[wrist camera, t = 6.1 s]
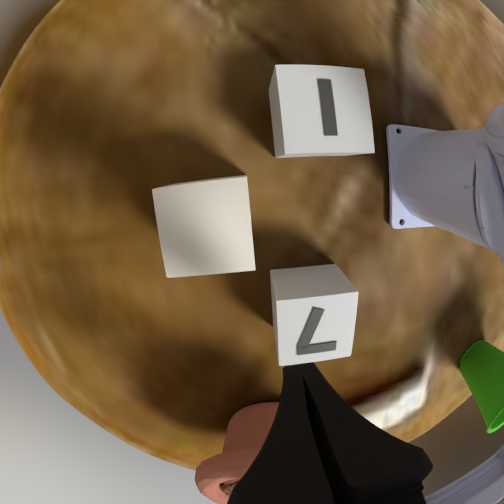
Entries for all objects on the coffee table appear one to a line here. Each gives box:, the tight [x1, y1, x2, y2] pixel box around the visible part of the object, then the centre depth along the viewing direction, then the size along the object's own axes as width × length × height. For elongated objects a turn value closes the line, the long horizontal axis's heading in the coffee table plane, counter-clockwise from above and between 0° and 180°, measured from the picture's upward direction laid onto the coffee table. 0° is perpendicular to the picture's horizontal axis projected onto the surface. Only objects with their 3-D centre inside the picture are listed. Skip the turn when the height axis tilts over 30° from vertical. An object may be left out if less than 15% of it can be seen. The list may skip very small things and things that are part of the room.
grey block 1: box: [268, 65, 375, 158], centre depth 14 cm, size 5×5×5 cm
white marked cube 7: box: [270, 264, 358, 366], centre depth 18 cm, size 5×5×5 cm
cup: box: [459, 340, 504, 433], centre depth 19 cm, size 9×9×11 cm
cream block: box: [152, 175, 255, 278], centre depth 16 cm, size 5×5×5 cm
